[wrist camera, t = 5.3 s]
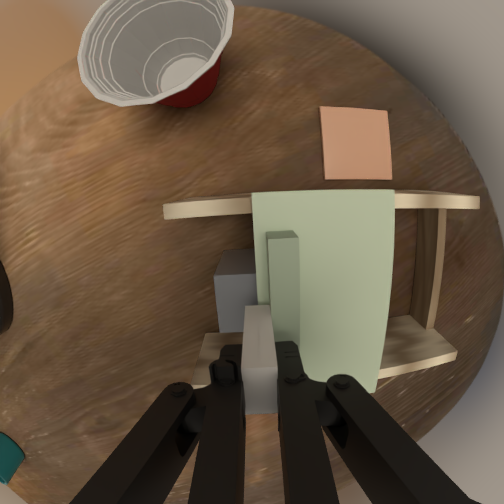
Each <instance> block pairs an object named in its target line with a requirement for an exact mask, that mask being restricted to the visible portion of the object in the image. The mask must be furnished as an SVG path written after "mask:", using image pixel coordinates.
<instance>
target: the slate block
mask: <svg viewBox="0 0 504 504" xmlns="http://www.w3.org/2000/svg"><path fill="white" fill-rule="evenodd" d="M214 286H215V295H216V304H217V313H218V322H219V331H220V333H230V332H244V317H245V306H253V305H258V297H257V280H256V263H255V248H254V249H236V250H224V251H223V254H222V256H221V259H220V261H219V264H218V266H217V268H216V271H215V273H214Z"/></svg>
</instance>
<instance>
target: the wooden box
mask: <svg viewBox="0 0 504 504" xmlns="http://www.w3.org/2000/svg"><path fill="white" fill-rule="evenodd" d="M394 191H395V208H418V228H417V249H416V263H415V274H414V284H413V292H412V300H411V308H410V315H404V316H398V317H391V318H388V320H387V327H386V334H385V341H384V347H383V353H382V359H381V364H380V369H379V375H378V379H380V378H385V377H390V376H395V375H399V374H404V373H408V372H412V371H416V370H420V369H424V368H428V367H432V366H436V365H439V364H443V363H446V362H450V361H453V360H455V359H456V355H457V352H458V351H457V350H456V349H455V348H454V347H453V346H452V345H451V344H450V343H449V342H448V341H446V340H445V339H444V338H443V337H442V336H441V335H440V334H439V333H438V332H437V331H436V330H434V329H433V327H434V322H435V317H436V311H437V305H438V299H439V292H440V285H441V277H442V269H443V259H444V247H445V232H446V208H459V209H479V203H480V197H479V196H471V195H463V194H455V193H446V192H436V191H426V190H394ZM163 211H164V220H166V219H177V218H190V217H203V216H217V215H231V214H247V213H253V211H252V195H251V193H241V194H227V195H213V196H201V197H190V198H186V199H182V200H178V201H174V202H170V203H166V204H163ZM228 344H243V332H230V333H220V332H217V333H205V336H204V340H203V343H202V346H201V350H200V353H199V357H198V360H197V364H196V367H195V370H194V374H193V377H192V381H191V384H190V385H191V386H192V387H193V389H197V388H202V387H205V386H207V385H209V384H211V378H210V372H209V365H210V363H212V362H213V361H215V360H217V359H219V357H220V350H221V349H222V348H223V347H224V346H225V345H228Z"/></svg>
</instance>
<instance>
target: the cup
mask: <svg viewBox="0 0 504 504" xmlns="http://www.w3.org/2000/svg"><path fill="white" fill-rule="evenodd" d="M24 458H25V456H24V453H23V451H22V450H21V449H20V447H19V446H18V445H17V444H16V443H15V442H14V441H13V440H12V439H11V438H9V437H8V436H7V435H5V434H3V433H0V482H1V483H3V484H5V485H7V484H8V483H9V481H10V480H11V478H12V477H13V475H14V473H15V472H16V470H17V469H18V467H19V466H20V464H21V463H22V461H23V460H24Z"/></svg>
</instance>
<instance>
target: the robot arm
mask: <svg viewBox="0 0 504 504" xmlns="http://www.w3.org/2000/svg"><path fill="white" fill-rule="evenodd" d="M12 314H13V305H12V297H11V291H10V287H9V283H8V280H7V277H6V274H5V271H4V269H3V267H2V264H1V262H0V335H1V334H2V333H3V332H5V331H6V330H7V329H8V328H9V326H10V324H11V321H12ZM209 372H210V378H211V384H209V385H207V386H205V387H202V388H197V389H193V387H192V386H191V385H190V384H188V383H185V382H177V383H173V384H170V385H168V386H167V387H166V388H165V389H164V390H163V391H162V393H161V394H160V395H159V396H158V398H157V399H156V400H155V401H154V402H153V404H152V405H151V406H150V407H149V409H148V410H147V411H146V412H145V414H144V415H143V416H142V417H141V418H140V420H139V421H138V422H137V423H136V425H135V426H134V427H133V428H132V429H131V431H130V432H129V433H128V434H127V435H126V437H125V438H124V439H123V440H122V442H121V443H120V444H119V445H118V446H117V448H116V449H115V450H114V451H113V452H112V454H111V455H110V456H109V457H108V458H107V460H106V461H105V462H104V463H103V464H102V466H101V467H100V468H99V469H98V470H97V472H96V473H95V474H94V475H93V476H92V477H91V479H90V480H89V481H88V482H87V483H86V485H85V486H84V487H83V488H82V489H81V490H80V492H79V493H78V494H77V495H76V496H75V497H74V499H73V500H72V501H71V502H70V503H69V504H163V503H164V501H165V499H166V498H167V496H168V494H169V493H170V491H171V489H172V487H173V486H174V484H175V482H176V481H177V479H178V477H179V475H180V474H181V472H182V470H183V468H184V467H185V465H186V463H187V461H188V460H189V458H190V456H191V454H192V452H193V451H194V449H195V447H196V445H197V443H198V442H199V446H198V451H197V456H196V462H195V467H194V472H193V478H192V483H191V488H190V494H189V499H188V504H244V472H245V437H246V418H245V414H268V413H278V431H279V436H280V447H281V459H282V471H283V483H284V495H285V504H339V500H338V495H337V491H336V486H335V482H334V478H333V474H332V469H331V465H330V461H329V457H328V453H327V448H326V444H325V440H324V436H323V432H322V428H323V430H324V432H325V433H326V435H327V436H328V438H329V439H330V441H331V442H332V444H333V446H334V447H335V449H336V450H337V452H338V453H339V455H340V456H341V458H342V459H343V461H344V462H345V464H346V465H347V467H348V468H349V470H350V471H351V473H352V474H353V476H354V477H355V479H356V480H357V482H358V483H359V485H360V486H361V488H362V489H363V491H364V492H365V494H366V495H367V497H368V498H369V500H370V501H371V502H372V504H481V503H479V502H476V501H474V500H472V499H470V498H468V496H467V495H466V494H465V493H464V492H463V491H462V490H461V489H460V488H459V487H458V486H457V485H456V484H455V483H454V482H453V481H452V480H451V479H450V478H449V477H448V476H447V475H446V474H445V473H444V472H443V471H442V470H441V469H440V467H439V466H438V465H437V464H436V463H435V462H434V461H433V460H432V459H431V458H430V457H429V456H428V455H427V454H426V453H425V452H424V451H423V450H422V449H421V448H420V447H419V446H418V445H417V443H416V442H415V441H414V440H413V439H412V438H411V437H410V436H409V435H408V434H407V433H406V432H405V431H404V430H403V429H402V428H401V427H400V426H399V424H398V423H397V422H396V421H395V420H394V419H393V418H392V417H391V416H390V415H389V414H388V413H387V412H386V411H385V410H384V409H383V408H382V407H381V405H380V404H379V403H378V402H377V401H376V400H375V399H374V398H373V397H372V396H371V395H370V394H369V393H368V392H367V391H366V389H365V388H364V387H363V386H362V385H361V384H360V383H359V382H358V381H357V380H356V379H355V378H354V377H352V376H350V375H347V374H336V375H333V376H331V377H330V378H329V379H328V380H327V382H320V381H315V380H312V379H310V378H309V377H308V375H307V374H306V373H305V372H304V368H303V365H302V361H301V357H300V353H299V349H298V345H297V344H296V343H294V342H293V341H280V342H274V334H273V326H272V318H271V311H270V305H253V306H245V317H244V332H243V344H228V345H225V346H224V347H223V348H222V349H221V350H220V357H219V359H217V360H215V361H213V362H212V363H210V365H209ZM321 425H322V428H321ZM199 440H200V441H199Z"/></svg>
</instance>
